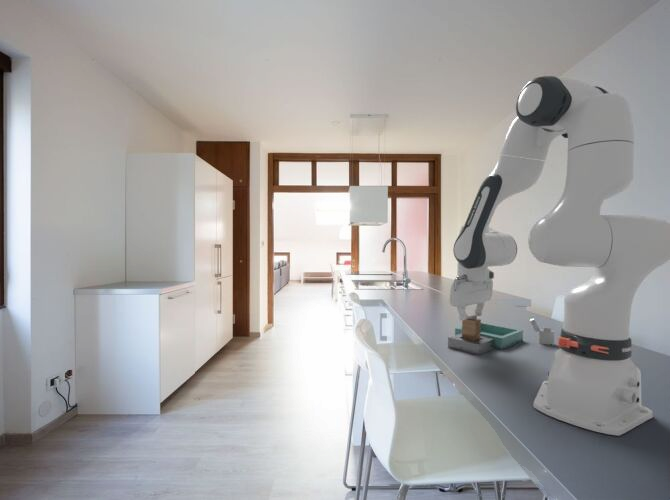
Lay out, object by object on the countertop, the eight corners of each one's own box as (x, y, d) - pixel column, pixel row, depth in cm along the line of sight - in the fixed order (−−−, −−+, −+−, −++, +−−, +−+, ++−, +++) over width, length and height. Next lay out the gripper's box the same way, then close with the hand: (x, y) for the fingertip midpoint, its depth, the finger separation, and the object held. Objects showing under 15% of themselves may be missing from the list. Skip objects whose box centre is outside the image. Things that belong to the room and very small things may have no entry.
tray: (501, 349, 108) (502, 338, 108) (454, 338, 120) (455, 328, 120) (522, 340, 119) (523, 330, 119) (477, 331, 131) (477, 321, 131)
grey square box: (478, 354, 103) (478, 344, 103) (447, 346, 110) (448, 337, 110) (494, 348, 109) (494, 338, 109) (464, 341, 117) (464, 332, 117)
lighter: (552, 343, 116) (553, 319, 116) (553, 344, 114) (554, 320, 114) (528, 341, 118) (529, 317, 118) (529, 342, 117) (530, 318, 117)
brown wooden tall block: (473, 350, 107) (474, 317, 107) (461, 347, 110) (462, 315, 110) (480, 348, 110) (480, 315, 109) (468, 345, 113) (468, 313, 112)
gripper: (464, 277, 100) (463, 324, 101) (496, 272, 114) (495, 314, 114) (444, 275, 105) (443, 320, 106) (478, 271, 118) (477, 311, 119)
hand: (470, 317), depth 110 cm, fingers open, 8 cm apart
